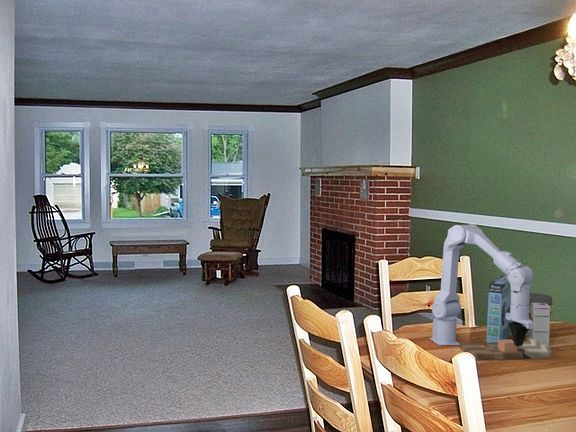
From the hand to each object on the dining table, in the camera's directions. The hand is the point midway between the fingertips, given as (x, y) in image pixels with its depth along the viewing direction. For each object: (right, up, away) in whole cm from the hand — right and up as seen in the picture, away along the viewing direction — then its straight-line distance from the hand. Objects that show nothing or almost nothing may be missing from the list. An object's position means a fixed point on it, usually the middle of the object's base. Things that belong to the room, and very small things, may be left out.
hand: (518, 345), depth 206 cm
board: (-1, -5, +10) cm, 11 cm away
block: (-1, -3, +7) cm, 8 cm away
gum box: (+3, -4, +27) cm, 27 cm away
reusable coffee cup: (+19, -4, +38) cm, 42 cm away
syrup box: (+16, -4, +24) cm, 29 cm away
